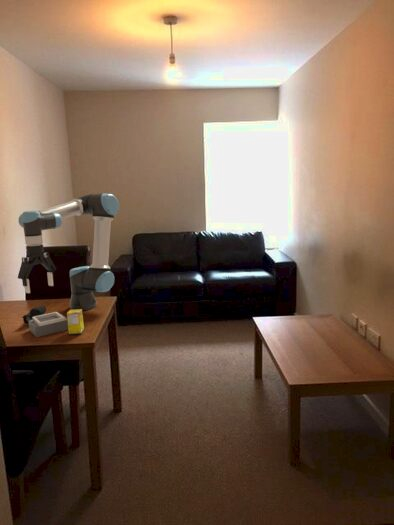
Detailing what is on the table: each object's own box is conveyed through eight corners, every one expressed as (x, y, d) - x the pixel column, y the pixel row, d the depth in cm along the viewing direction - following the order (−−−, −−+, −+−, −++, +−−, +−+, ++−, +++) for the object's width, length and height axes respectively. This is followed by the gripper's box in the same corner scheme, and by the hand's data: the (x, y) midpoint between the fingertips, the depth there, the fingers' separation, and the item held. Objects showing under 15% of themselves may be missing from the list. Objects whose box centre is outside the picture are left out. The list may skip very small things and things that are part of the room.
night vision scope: (43, 320, 231) (55, 309, 229) (27, 332, 214) (39, 320, 212) (33, 309, 231) (45, 298, 228) (16, 321, 213) (28, 309, 211)
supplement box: (84, 330, 206) (82, 308, 204) (81, 334, 200) (79, 312, 198) (72, 330, 206) (69, 309, 204) (68, 335, 200) (66, 313, 198)
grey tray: (61, 323, 218) (60, 310, 217) (69, 329, 208) (68, 316, 207) (29, 330, 209) (28, 317, 208) (36, 337, 199) (34, 324, 198)
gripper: (50, 240, 208) (54, 282, 212) (5, 248, 187) (11, 295, 191) (60, 240, 204) (65, 283, 209) (16, 249, 183) (22, 296, 188)
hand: (39, 289), depth 200 cm, fingers open, 13 cm apart
